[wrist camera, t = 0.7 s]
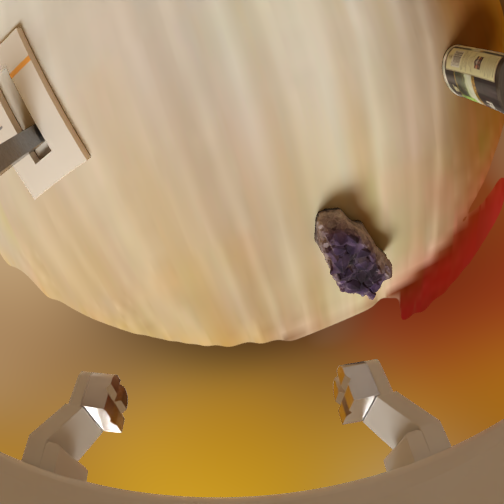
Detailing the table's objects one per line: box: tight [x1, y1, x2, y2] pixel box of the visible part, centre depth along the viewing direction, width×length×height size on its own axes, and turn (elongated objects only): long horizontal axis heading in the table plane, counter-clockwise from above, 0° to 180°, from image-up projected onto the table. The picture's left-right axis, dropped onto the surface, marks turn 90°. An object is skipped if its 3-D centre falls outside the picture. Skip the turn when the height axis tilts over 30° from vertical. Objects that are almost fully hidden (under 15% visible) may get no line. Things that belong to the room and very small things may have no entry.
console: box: [0, 28, 90, 199], centre depth 34 cm, size 28×14×2 cm, turn 22°
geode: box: [315, 208, 392, 300], centre depth 53 cm, size 20×12×10 cm, turn 43°
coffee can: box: [442, 45, 504, 113], centre depth 30 cm, size 10×10×14 cm
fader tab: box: [0, 124, 45, 176], centre depth 31 cm, size 4×4×16 cm
